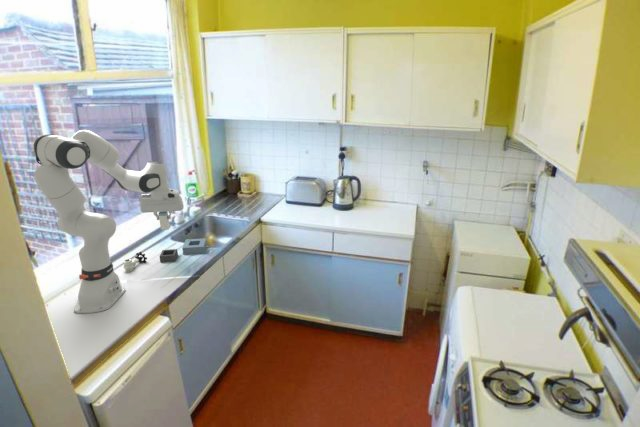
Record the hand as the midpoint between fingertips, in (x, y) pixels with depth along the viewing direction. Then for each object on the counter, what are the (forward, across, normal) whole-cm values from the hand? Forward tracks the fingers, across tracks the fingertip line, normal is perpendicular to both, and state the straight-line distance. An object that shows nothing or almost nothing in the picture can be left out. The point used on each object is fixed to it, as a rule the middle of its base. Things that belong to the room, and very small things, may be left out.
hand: (164, 219), depth 197 cm
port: (+23, +12, +9) cm, 27 cm away
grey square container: (+23, 0, 0) cm, 23 cm away
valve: (+24, -16, -7) cm, 29 cm away
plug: (+5, 0, 0) cm, 5 cm away
